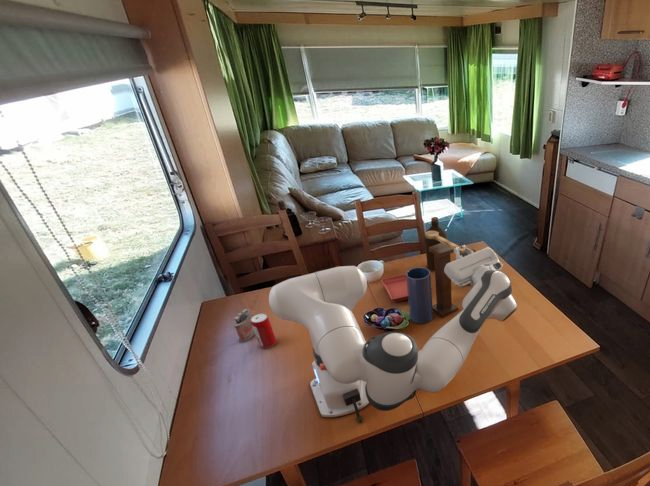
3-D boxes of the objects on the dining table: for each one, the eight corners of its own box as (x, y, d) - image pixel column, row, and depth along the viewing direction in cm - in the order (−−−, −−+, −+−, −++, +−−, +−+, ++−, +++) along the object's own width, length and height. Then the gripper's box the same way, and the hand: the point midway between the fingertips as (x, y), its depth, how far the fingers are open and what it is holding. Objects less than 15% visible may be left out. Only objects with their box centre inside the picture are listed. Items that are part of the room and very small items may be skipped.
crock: (435, 320, 149) (433, 276, 138) (413, 325, 146) (409, 281, 136) (429, 308, 156) (426, 265, 145) (407, 312, 153) (403, 269, 143)
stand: (458, 309, 155) (457, 248, 140) (442, 317, 151) (439, 254, 136) (445, 301, 160) (443, 241, 145) (430, 308, 156) (426, 247, 141)
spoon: (469, 250, 132) (469, 247, 132) (458, 255, 130) (458, 252, 129) (433, 232, 146) (433, 229, 145) (422, 235, 143) (422, 233, 142)
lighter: (245, 342, 138) (236, 320, 133) (237, 341, 139) (228, 319, 133) (260, 329, 145) (252, 307, 139) (252, 327, 145) (244, 306, 140)
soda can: (280, 340, 139) (270, 313, 133) (269, 350, 135) (259, 323, 128) (267, 337, 140) (257, 311, 134) (256, 347, 136) (246, 320, 129)
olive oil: (446, 272, 181) (444, 223, 168) (424, 271, 182) (421, 222, 168) (449, 261, 190) (447, 214, 177) (428, 260, 191) (425, 213, 177)
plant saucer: (381, 285, 171) (380, 278, 169) (419, 276, 178) (419, 270, 176) (392, 306, 157) (391, 299, 156) (433, 295, 164) (432, 289, 162)
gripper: (455, 293, 125) (432, 262, 129) (499, 273, 136) (477, 244, 140) (461, 283, 120) (437, 251, 124) (506, 263, 131) (483, 233, 135)
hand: (458, 247), depth 132 cm, fingers closed on spoon
